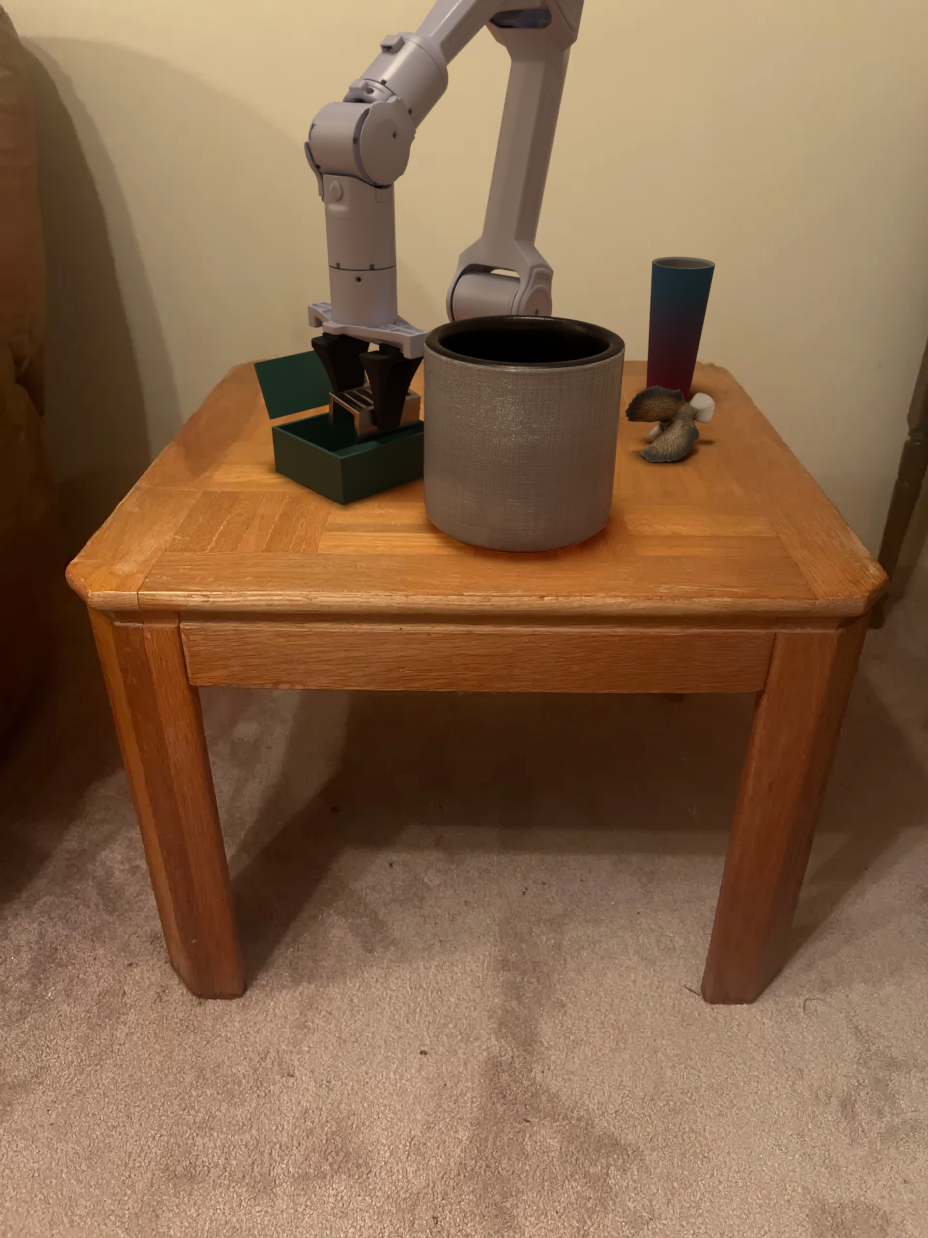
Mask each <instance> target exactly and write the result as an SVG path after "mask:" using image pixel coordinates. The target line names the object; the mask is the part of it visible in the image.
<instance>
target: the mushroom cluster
mask: <svg viewBox="0 0 928 1238" xmlns="http://www.w3.org/2000/svg"><path fill="white" fill-rule="evenodd" d="M715 405H716V402H715V401H714V399H713V397H712V396H710V395H708V394H706V393H704V392H697V393H695V394H694V396H693V397H692V399H691V400H690V401H689V402H688V403H687V404H686V400H685V399H684V396H683V394H682V392H681V390H680V389H679V390H671V389H665V388H664V387H663V388H662V387H660V386H652V388H651V387H649V389H646V388H645V389H644V390H641V391H640V392H637V393H636V394H635V396H634V397H633V398H632V399H631V401H630V402H629V403H628V404H627V408H626V409H625V411H624V413H625V418H627V421H628V422H632V423H635V422H636V423H640V422H641V423H657V422H659V423H658V424H657V425H656V426H655V427H654V428H653V429H652V430H651V431H650V432H649V433H648V437H647V439H646V442H647V443H649V442H650V441H652V443H650V444H649V445H647V446H646V447H645V448H644V449H642V450H641V451H640V454H641V455H642V458H644V459H645V460H646V461H647V462H650V463H657V462H658V463H664V462H666V461H667V462H668V463H670V462H672V461H673V462H674V461H678V460H680V459H681V458H683V457H685V455H686V454H688V452H689V450H690V449H691V448H692V446H693V445H694V443H695V442H697V441H698V440H699V438H700V431H699V429H698V427H697V425H696V422H697V423H702V424H709V422H710V421H711V420H712V418H713V416H714V414H715V411H716V407H715Z"/></svg>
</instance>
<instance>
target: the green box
mask: <svg viewBox="0 0 928 1238" xmlns="http://www.w3.org/2000/svg"><path fill="white" fill-rule="evenodd" d="M354 423H355V421H352V422H348V423H345V424H341V425H337V426H334V427H331V426H330V425H329V411H327V412H322V413H318V414H315V415H311V416H307V417H304V418H299V419H296V420H293V421H288V422H285V423H282V424H281V423H280V424H277V425H274V426H271V437H272V447H273V456H274V466H275V472H277V473H280V474H281V475H282V476H285V477H287V478H289V479H291V480H293V481H295V482H296V483H299V484H300V485H302V486H304V487H307V488H308V489H310V490H312V491H313V492H314V491H315V492H316V493H318V494H320V495H322V496H324V497H326V498H328V499H330V500H332V501H334V502H336V503H337V504H340V505H342V506H346V505H349V504H351V503H354V502H359V501H360V500H363V499H366V498H370V497H372V496H375V495H378V494H381V493H384V492H386V491H387V492H388V491H390V490H392V489H393V490H394V489H395V488H398V487H401V486H404V485H407V484H410V483H414V482H416V481H419V480H422V479H424V420H423V419H420V418H419V427H418V428H415V429H411V430H408V431H404V432H401V433H398V434H394V435H391V436H387V437H384V438H381V439H377V440H374V441H370V442H367V443H364V444H360V445H356V444H355V443H354Z"/></svg>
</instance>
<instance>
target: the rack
mask: <svg viewBox="0 0 928 1238" xmlns="http://www.w3.org/2000/svg"><path fill="white" fill-rule="evenodd" d="M421 401H422V395H420V394H419V393H418V392H416V391H414V390H412V389H411V388H409V389H408V392H407V396H406V399H405V403H404V408H403V412H402V417H401V421H400V425H399V427H396V428H392V429H389V430H386V431H381V430H378V428H377V425H376V421H375V416H374V407H373V398H372V392H371V387H370V384H369V382H368V383H365V384H361V385H357V386H353V387H349V388H345V389H341V390H337V391H333V392H329V405H328V412H329V425H330V426H331V427H334V426H337V425H341V424H345V423H348V422H352V421H355V423H354V443H355V444H356V445H360V444H364V443H367V442H370V441H374V440H377V439H381V438H384V437H387V436H391V435H394V434H398V433H401V432H404V431H408V430H411V429H415V428H418V427H419V419H420V415H421V403H422V402H421Z"/></svg>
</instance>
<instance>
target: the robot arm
mask: <svg viewBox="0 0 928 1238" xmlns="http://www.w3.org/2000/svg"><path fill="white" fill-rule="evenodd" d="M584 4H585V0H436V1H435V3H434V4H433V6H432V7H431V9H430V10H429V12H428V13H427V15H426V16H425V18H424V19H423V21H422V22H421V24H420V25H419V27H418V28H417V29H416V31H415V32H412V31H401V32H398V33H396V34H387V35H386V36H385V37H384V39H382V41H381V42H380V44H379V47H380V50H381V51H380V53H378V55H377V56H376V57H375V59H373V61H372V62H371V63H370V64H369V66H368V67H367V68H366V69H365V71H364V72H363V73H362V74H361V75H360V77H359V78H355V79H354V80H353V81H352V82H351V84H350V85H349V86H348V92H347V93H346V94H345V95H344V97H343V99H342V101H333V102H328V103H326V104H324V105H323V106H322V107H321V108H320V109H319V110H318V112H317V113H316V114H315V115H314V117H313V119H312V120H311V123H310V125H309V129H308V134H307V135H308V136H307V140H306V141H304V142H303V146H304V147H303V149H304V155H305V157H306V158H305V159H306V161H307V163H308V165H309V167H310V169H311V171H312V172H313V173H314V175H315V177H316V181H317V189H318V191H317V192H318V197H321V201H322V203H323V204H324V216H325V229H326V230H325V232H326V233H325V234H326V247H327V263H328V264H327V265H328V279H329V280H328V281H329V293H330V294H329V296H330V302H328V301H321V302H315V303H309V304H307V317H308V318H307V319H308V326H309V327H310V328H315V329H319V328H322V331H323V332H322V333H321V335H318V336H314V337H312V338H311V339H310V345H311V348H312V350H315V352H316V353H317V355H318V357H319V358H320V360H321V362H322V364H323V366H324V368H325V370H326V372H327V374H328V377H329V379H330V382H331V385H332V388H333V391H337V390H341V389H345V388H349V387H353V386H357V385H361V384H364V373H365V374H366V378H367V381H368V383H369V384H370V387H371V392H372V398H373V407H374V416H375V421H376V425H377V428H378V430H381V431H386V430H389V429H392V428H396V427H399V425H400V421H401V417H402V412H403V408H404V403H405V399H406V397H407V392H408V389H410V386H411V384H412V381H413V379H414V377H415V374H416V373H417V371H418V369H419V367H420V365H421V364H422V362H423V361H424V344H423V341H424V338H425V336H426V335H427V334H428V333H429V331H426V330H423V329H420V328H418V327H417V326H415V325H414V324H412V323H411V322H410V321H408V320H406V319H405V318H404V317H402V316H401V315H399V311H398V309H399V308H398V307H399V306H398V304H399V303H398V272H397V271H398V269H397V238H396V234H397V233H396V200H395V198H396V197H395V196H396V195H395V182H396V181H397V180H398V179H399V178H400V177H403V175H404V174H405V172H406V170H407V168H408V164H409V160H410V156H411V155H410V154H411V147H412V144H413V142H414V140H415V139H416V136H415V135H416V134H417V129H418V128H419V127H420V125H421V124H423V123H422V122H423V121H424V120H425V119H426V117H427V116H428V115H429V114H430V113H431V111H432V110H433V109H434V107H435V106H436V105H437V103H438V102H439V101H440V100H441V99H442V97H443V96H444V95H445V93H446V91H447V90H448V86H449V70H448V66H449V65H450V64H451V62H452V61H453V60H455V58H456V57H457V56H458V55H459V54H460V53H461V51H462V50H463V49H464V48H465V47H466V46H467V45H468V44H469V43H470V42H471V41H472V39H473V38H474V37H476V36H477V34H478V33H479V32H480V31H481V30H482V29H483V28H484V27H486V29H487V30H488V32H489V33H490V34H491V36H492V38H493V39H494V40H495V42H497V44H499V45H501V46H503V47H505V48H506V51H507V53H508V55H509V57H510V68H509V73H508V80H507V86H506V91H505V98H504V103H503V109H502V115H501V122H500V127H499V132H498V133H499V135H498V140H497V143H496V144H497V145H496V151H495V156H494V157H495V158H494V162H493V163H494V164H493V169H492V174H491V181H490V185H489V186H490V188H489V192H488V197H487V204H486V208H485V215H484V221H483V227H482V234H481V236H480V237H479V238H478V239H477V240H476V241H474V242H473V243H472V244H470V245H469V246H468V247H466V248H465V249H464V250H463V251H461V252H460V253H459V255H458V261H457V267H456V270H455V273H454V275H453V278H452V279H451V281H450V283H449V286H448V288H447V292H446V296H445V297H446V298H445V309H446V310H445V311H446V315H447V319H448V322H449V323H450V322H453V321H457V320H462V319H467V318H474V317H482V316H493V315H539V316H552V314H553V299H552V287H553V286H552V284H553V277H554V269H553V268H552V266H551V265H550V264H549V263H548V261H547V260H546V259H545V258H544V256H543V255H542V254H541V253H540V251H539V250H538V249H537V247H536V246H535V244H536V243H535V241H536V238H537V233H538V227H539V221H540V217H541V210H542V206H543V199H544V195H545V189H546V184H547V179H548V174H549V168H550V162H551V159H552V158H551V157H552V151H553V146H554V141H555V136H556V130H557V126H558V120H559V114H560V109H561V104H562V99H563V94H564V88H565V82H566V76H567V72H568V66H569V61H570V55H571V49H572V48H571V47H572V45H574V44H575V43H576V42H577V40H578V37H579V36H578V35H579V30H580V25H581V20H582V15H583V9H584ZM496 270H501V271H507V272H513V273H514V272H515V273H516V274H517V275H518V276H515V275H508V274H501V273H495V272H494V271H496ZM371 344H373V345H377V346H378V349H375V350H371V351H369V349H370V345H371Z"/></svg>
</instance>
